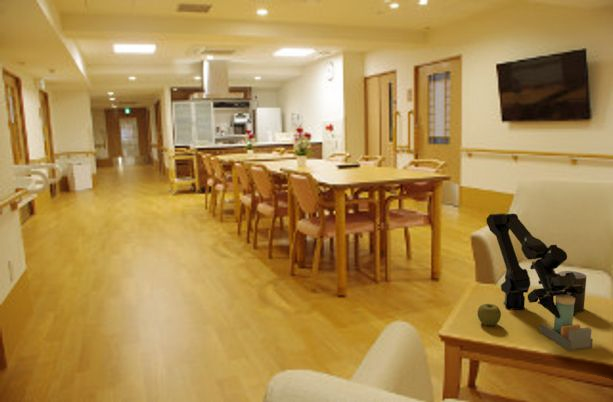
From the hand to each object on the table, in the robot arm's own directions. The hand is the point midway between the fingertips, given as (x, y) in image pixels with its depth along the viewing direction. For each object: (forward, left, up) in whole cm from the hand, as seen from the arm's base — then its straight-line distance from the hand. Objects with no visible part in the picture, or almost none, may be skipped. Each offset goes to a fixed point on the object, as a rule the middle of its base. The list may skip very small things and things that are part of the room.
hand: (566, 317), depth 164 cm
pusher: (+1, -2, -7) cm, 8 cm away
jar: (-1, +1, -7) cm, 7 cm away
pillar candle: (+10, +29, -8) cm, 31 cm away
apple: (-23, +9, -8) cm, 26 cm away
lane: (0, 0, -8) cm, 8 cm away
